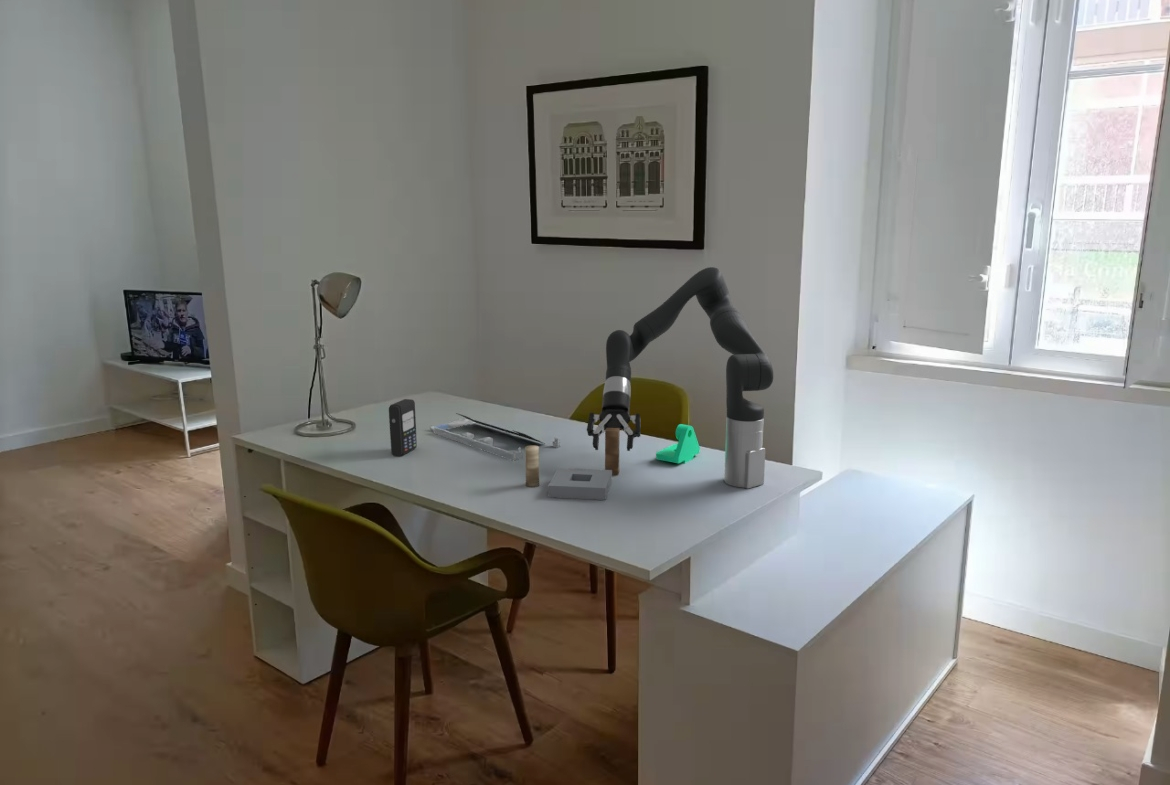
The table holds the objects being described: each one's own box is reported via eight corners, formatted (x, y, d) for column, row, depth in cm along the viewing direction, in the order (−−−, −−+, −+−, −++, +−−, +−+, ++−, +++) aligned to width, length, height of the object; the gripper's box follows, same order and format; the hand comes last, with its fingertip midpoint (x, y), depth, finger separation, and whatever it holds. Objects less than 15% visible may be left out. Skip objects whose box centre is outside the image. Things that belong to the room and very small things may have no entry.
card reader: (402, 457, 235) (399, 406, 231) (389, 456, 236) (386, 405, 233) (418, 448, 243) (416, 399, 240) (406, 447, 244) (404, 398, 241)
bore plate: (611, 481, 214) (611, 469, 214) (605, 499, 201) (605, 488, 200) (558, 478, 216) (558, 467, 216) (548, 497, 203) (548, 485, 202)
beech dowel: (541, 485, 211) (541, 447, 209) (530, 488, 209) (529, 450, 207) (534, 481, 214) (533, 444, 212) (523, 484, 212) (522, 446, 210)
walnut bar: (619, 471, 222) (619, 428, 219) (617, 475, 219) (618, 431, 216) (606, 470, 222) (606, 427, 220) (605, 474, 219) (605, 431, 216)
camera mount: (676, 452, 240) (676, 417, 237) (699, 456, 235) (700, 421, 233) (654, 462, 230) (654, 426, 228) (678, 467, 226) (679, 430, 223)
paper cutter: (513, 462, 232) (513, 443, 230) (424, 431, 263) (423, 414, 262) (561, 449, 244) (561, 430, 243) (470, 421, 275) (470, 404, 274)
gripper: (643, 404, 230) (639, 456, 222) (592, 403, 232) (587, 454, 224) (641, 390, 224) (638, 443, 215) (589, 389, 226) (583, 441, 217)
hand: (612, 449), depth 219 cm, fingers open, 8 cm apart
